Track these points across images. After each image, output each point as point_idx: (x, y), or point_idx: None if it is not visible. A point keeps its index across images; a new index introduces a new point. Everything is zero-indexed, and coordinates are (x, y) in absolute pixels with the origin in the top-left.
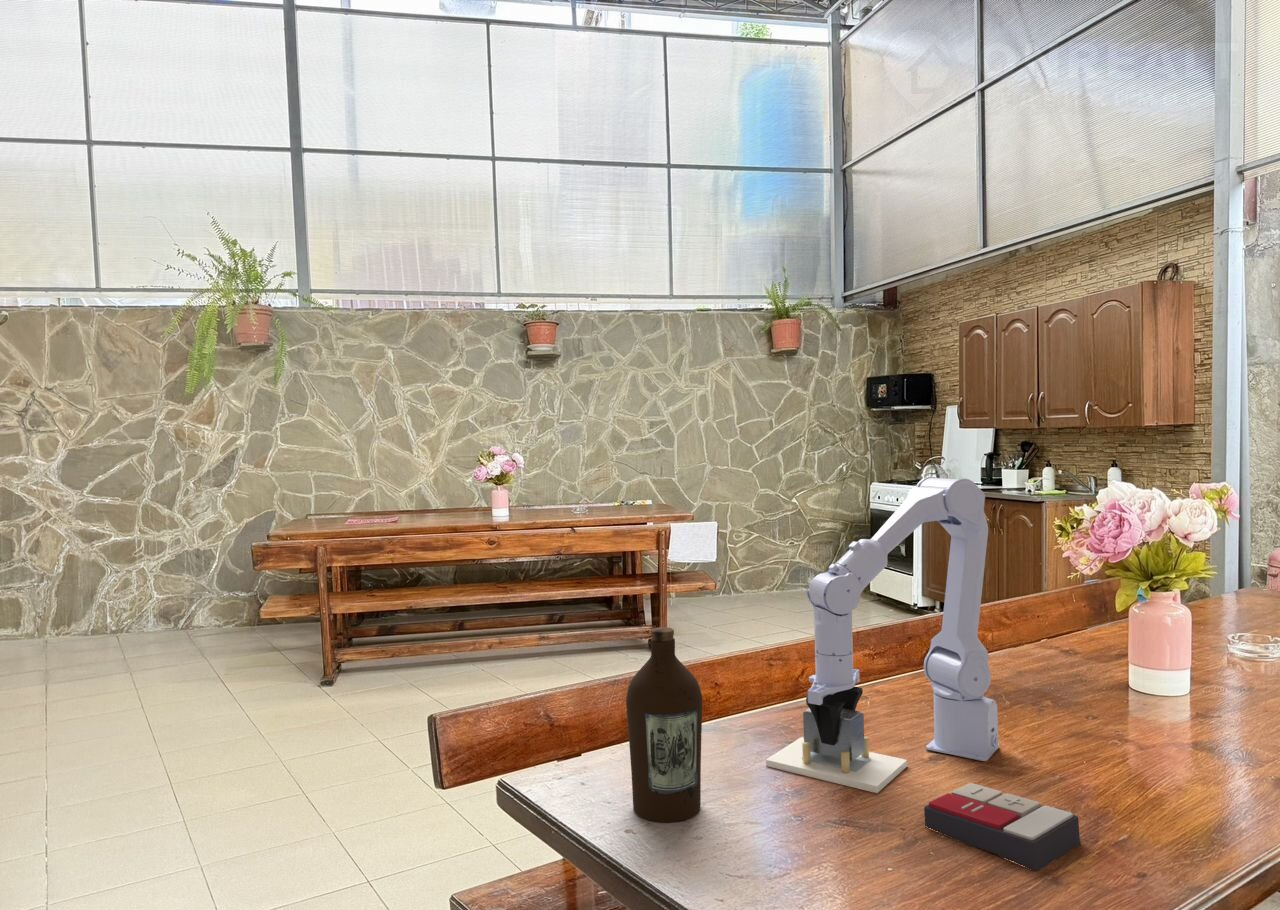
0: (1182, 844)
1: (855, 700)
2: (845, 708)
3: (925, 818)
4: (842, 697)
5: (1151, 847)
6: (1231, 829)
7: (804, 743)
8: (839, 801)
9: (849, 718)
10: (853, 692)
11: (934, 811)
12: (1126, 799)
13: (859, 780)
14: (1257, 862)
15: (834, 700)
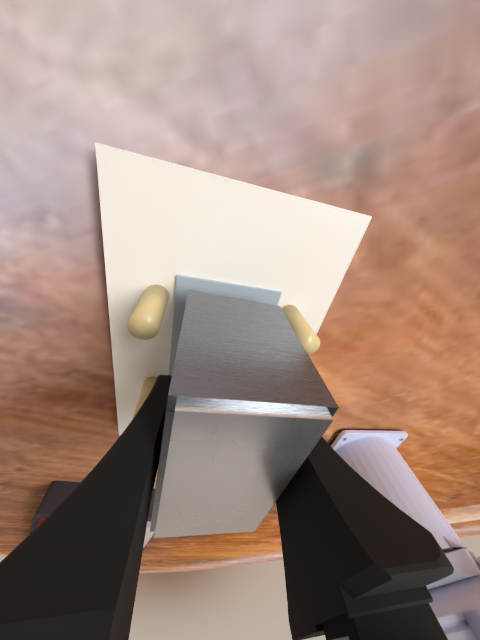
0: (175, 558)
1: (286, 569)
2: (286, 496)
3: (44, 497)
4: (309, 553)
5: (157, 554)
6: (218, 561)
7: (138, 322)
8: (33, 390)
9: (162, 535)
10: (299, 626)
11: (33, 523)
12: (247, 536)
13: (125, 411)
14: (171, 571)
15: (315, 506)
